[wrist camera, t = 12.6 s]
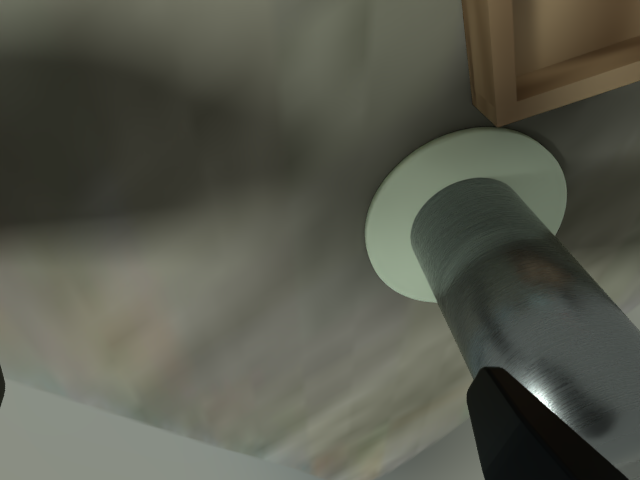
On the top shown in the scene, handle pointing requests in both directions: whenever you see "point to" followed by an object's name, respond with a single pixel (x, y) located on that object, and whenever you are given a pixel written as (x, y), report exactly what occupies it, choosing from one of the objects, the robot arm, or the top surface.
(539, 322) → the grey round cylinder
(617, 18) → the light wooden tray
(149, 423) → the top surface
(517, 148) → the drink coaster
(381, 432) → the top surface
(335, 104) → the top surface
